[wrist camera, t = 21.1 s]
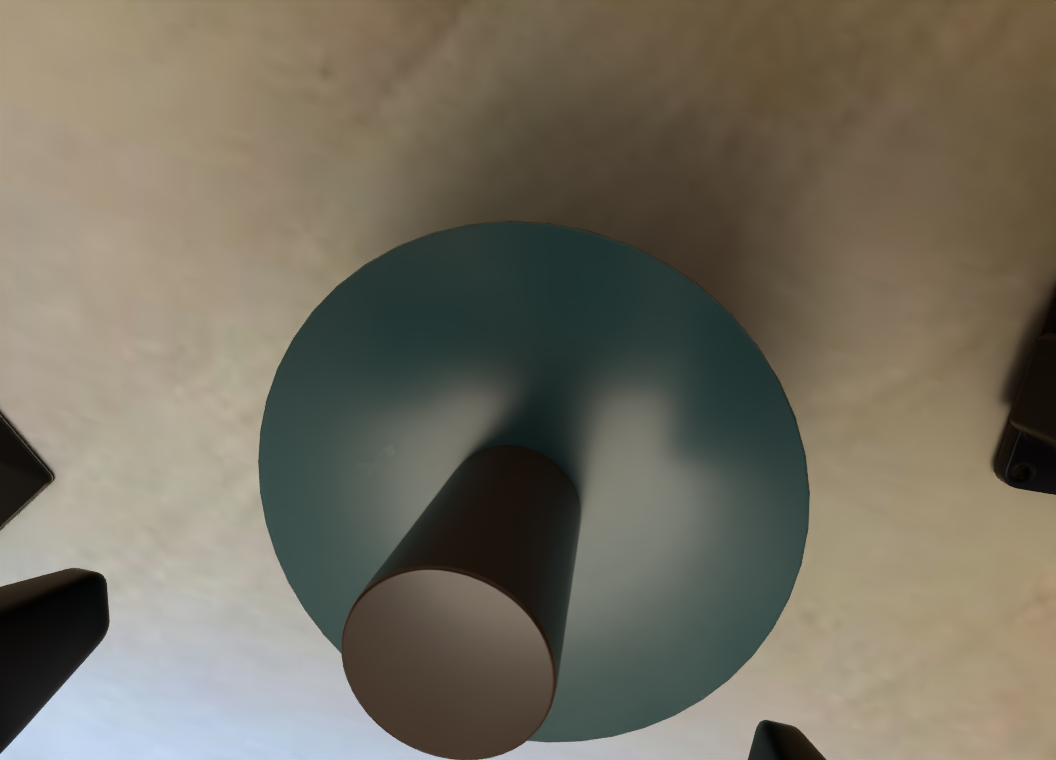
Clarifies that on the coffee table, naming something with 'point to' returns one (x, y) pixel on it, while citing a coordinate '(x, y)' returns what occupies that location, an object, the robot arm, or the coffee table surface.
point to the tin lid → (531, 487)
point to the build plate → (18, 474)
